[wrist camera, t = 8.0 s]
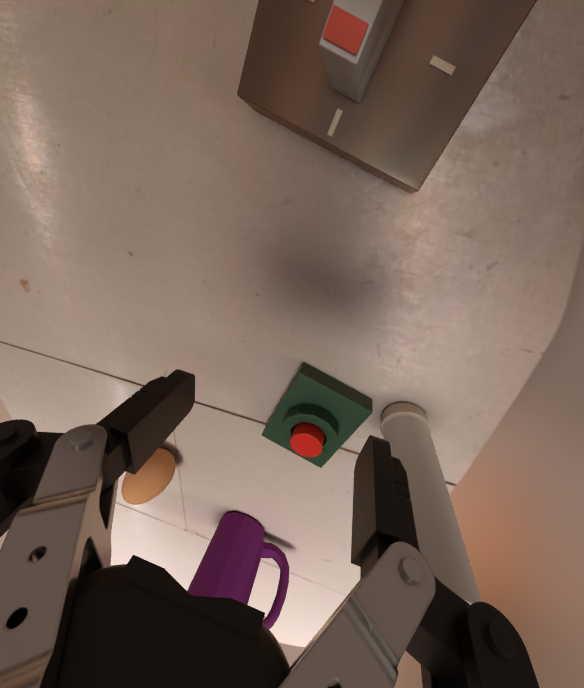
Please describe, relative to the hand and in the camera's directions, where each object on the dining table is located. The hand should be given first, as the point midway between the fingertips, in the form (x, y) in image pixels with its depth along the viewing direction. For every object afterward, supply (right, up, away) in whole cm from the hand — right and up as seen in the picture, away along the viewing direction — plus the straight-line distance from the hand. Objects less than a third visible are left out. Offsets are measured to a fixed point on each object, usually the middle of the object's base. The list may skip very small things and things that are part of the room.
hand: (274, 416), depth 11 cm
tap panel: (+6, +22, +6) cm, 24 cm away
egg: (-21, -16, +34) cm, 44 cm away
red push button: (+3, -7, +18) cm, 20 cm away
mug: (-6, -33, +39) cm, 52 cm away
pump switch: (+4, -6, +21) cm, 22 cm away
